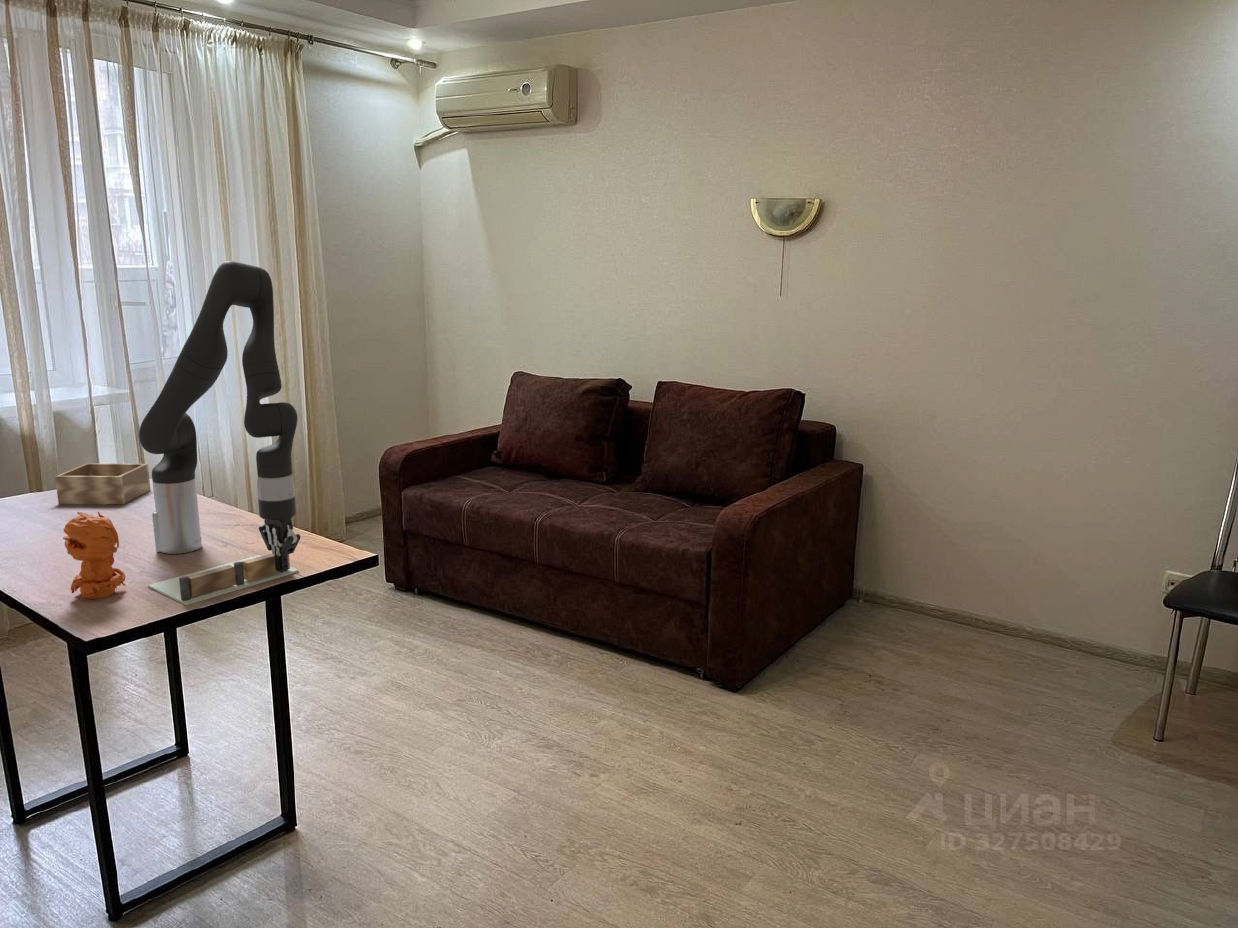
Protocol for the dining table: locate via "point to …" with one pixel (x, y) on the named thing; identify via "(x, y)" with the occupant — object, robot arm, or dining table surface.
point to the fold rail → (260, 567)
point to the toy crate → (102, 483)
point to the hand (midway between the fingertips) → (282, 570)
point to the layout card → (173, 591)
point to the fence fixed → (211, 580)
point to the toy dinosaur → (93, 555)
